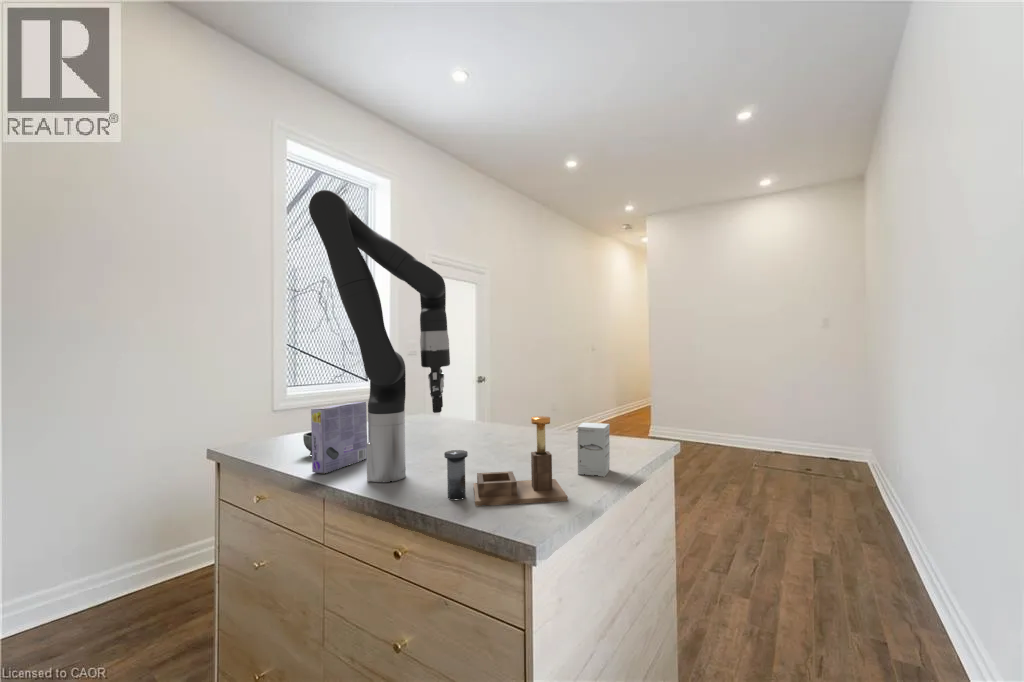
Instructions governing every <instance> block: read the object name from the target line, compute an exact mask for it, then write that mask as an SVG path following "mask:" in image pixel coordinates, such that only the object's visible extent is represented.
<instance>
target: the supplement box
mask: <svg viewBox="0 0 1024 682" xmlns="http://www.w3.org/2000/svg"><path fill="white" fill-rule="evenodd" d="M610 427H611V426H610V423H600V422H581V423H580V424H579V425H577V475H584V474H585V475H586V476H594V475H598V476H597V477H602V476H605V475H606V476H607V474H608V473H609V471H610V459H611V457H610V453H611V452H610V448H611V447H610ZM608 470H609V471H608ZM607 472H608V473H607ZM585 475H584V476H585ZM606 476H605V477H606Z"/></svg>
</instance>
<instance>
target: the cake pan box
mask: <svg viewBox="0 0 1024 682" xmlns="http://www.w3.org/2000/svg"><path fill="white" fill-rule="evenodd" d="M310 414H311V415H310V416H311V419H310V421H311V423H310V424H311V432H312V457H311V468H312V469H311V470H312V471H311V472H312V473H315V474H321V475H326V474H328V472H329V473H331V472H330V471H332V472H334V471H337V470H339V469H338V468H340V469H342V468H341V467H344V466H347V465H349V464H352V463H354V464H356V462H357V463H359V462H358V461H360V462H362V461H361V460H363V461H365V460H364V459H366V460H367V443H368V410H367V401H360V402H359V401H355V402H351V403H350V402H349V403H343V404H336V405H334V404H333V405H329V406H322V407H316V408H311V410H310ZM352 465H353V464H352ZM347 467H348V466H347ZM344 468H345V467H344ZM336 469H337V470H336ZM333 470H334V471H333ZM325 473H326V474H325Z"/></svg>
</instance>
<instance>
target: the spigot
mask: <svg viewBox="0 0 1024 682" xmlns="http://www.w3.org/2000/svg"><path fill="white" fill-rule="evenodd" d="M443 455H444V458H445V459H446V462H447V464H446V465H447V467H446V470H447V472H446V473H447V499H448V498H450V499H461V500H463V499H462V498H464V499H465V498H466V497H467V496H466V495H467V493H466V458H467V457H468V451H467V450H464V449H456V450H447V451H445V452H444V454H443ZM450 499H449V500H450Z"/></svg>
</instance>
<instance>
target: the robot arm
mask: <svg viewBox="0 0 1024 682" xmlns="http://www.w3.org/2000/svg"><path fill="white" fill-rule="evenodd" d="M308 210H309V216H310V217H311V221H312V223H313V224H314V226H315V228H316V230H317V232H318V235H319V236H320V239H321V241H322V243H323V246H324V248H325V251H326V255H327V257H328V261H329V265H330V268H331V272H332V276H333V278H334V282H335V285H336V288H337V291H338V294H339V296H340V300H341V303H342V305H343V307H344V310H345V313H346V315H347V317H348V321H349V322H350V325H351V327H352V329H353V331H354V335H355V336H356V339H357V342H358V347H359V351H360V354H361V357H362V358H361V359H362V363H363V367H364V372H365V375H366V377H367V378H368V380H369V381H370V382H369V396H368V402H367V459H366V481H367V482H373V483H391V482H390V481H392V482H396V481H401V480H403V479H405V478H406V475H407V474H406V471H407V468H406V419H405V418H406V417H405V416H406V414H405V413H406V412H405V411H406V410H405V409H406V408H405V405H406V389H407V388H406V384H407V383H406V364H405V360H404V358H403V357H402V355H401V354H400V353H398V352H397V351H395V349H394V346H393V345H392V343H391V340H390V338H389V335H388V333H387V330H386V326H385V322H384V320H385V319H384V315H383V307H382V303H381V297H380V294H379V291H378V288H377V285H376V282H375V279H374V277H373V274H372V272H371V270H370V268H369V265H368V264H367V263H368V262H366V260H365V257H364V256H363V255H362V253H361V251H362V252H363V253H364V254H366V255H367V256H368V257H370V258H371V259H372V260H373V261H374V262H376V263H377V264H378V265H379V266H381V267H382V268H383V269H385V270H386V271H387V272H389V273H390V274H392V275H393V276H394V277H396V278H397V279H399V280H401V281H403V282H404V283H406V284H407V285H409V287H411V288H412V289H414V290H415V291H417V292H418V293H419V297H420V298H419V300H420V313H419V314H420V315H419V326H420V327H419V328H420V335H419V336H420V338H419V347H420V364H421V367H422V368H430V372H429V374H428V375H427V378H428V384H429V386H428V387H429V391H430V393H429V394H430V397H431V402H432V403H431V405H432V412H433V413H434V414H437V413H441V412H442V411H443V410H442V408H443V407H444V404H443V403H444V402H443V392H444V388H445V381H444V380H445V373H444V372H443V369H442V368H443V367H449V366H450V365H451V356H450V354H451V353H450V339H449V333H448V332H449V331H448V319H447V312H446V309H447V308H446V306H447V305H446V303H447V302H446V301H447V300H446V299H447V296H446V295H447V293H446V291H447V290H446V283H445V280H444V278H443V277H442V275H441V274H439V273H438V272H437V271H436V270H435V269H433V268H431V267H429V266H428V265H426V264H424V262H421V261H420V260H418V259H417V258H416V257H414V255H412V254H410V253H409V252H408V251H407V250H405V249H404V248H402V246H400V245H398V244H397V243H395V242H393V241H392V240H390V239H389V238H387V237H386V236H383V235H382V234H381V233H379V232H377V231H375V229H372V227H370V226H368V225H367V223H365V222H363V220H362V219H361V218H359V217H358V215H357V214H356V213H354V211H353V210H352V209H351V207H350V206H349V204H348V203H347V201H346V200H345V199H344V198H343V197H342V196H341V195H339V194H338V193H336V192H334V191H332V190H328V189H321V190H318V191H317V192H314V194H313V195H312V196H311V198H310V200H309V205H308ZM360 250H361V251H360Z"/></svg>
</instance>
